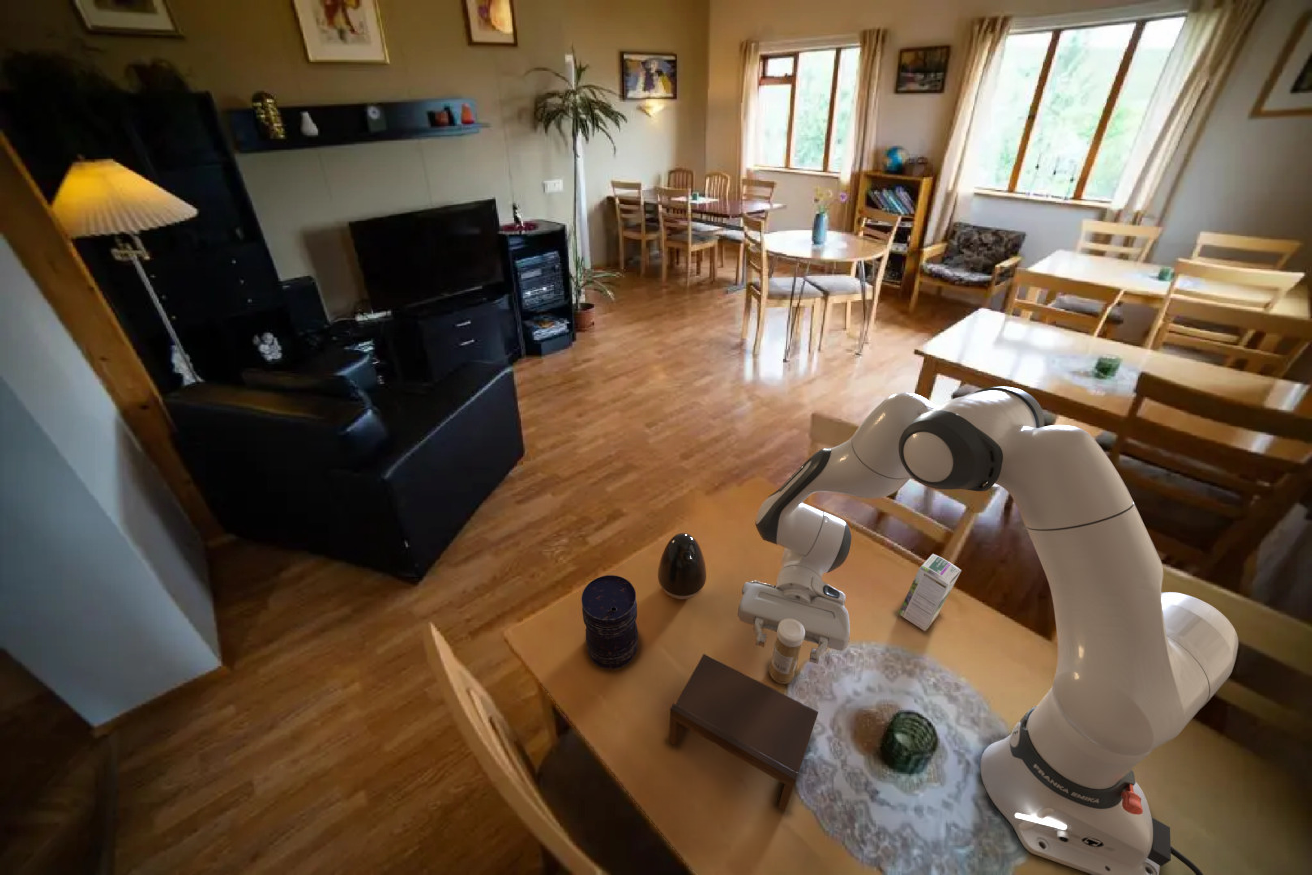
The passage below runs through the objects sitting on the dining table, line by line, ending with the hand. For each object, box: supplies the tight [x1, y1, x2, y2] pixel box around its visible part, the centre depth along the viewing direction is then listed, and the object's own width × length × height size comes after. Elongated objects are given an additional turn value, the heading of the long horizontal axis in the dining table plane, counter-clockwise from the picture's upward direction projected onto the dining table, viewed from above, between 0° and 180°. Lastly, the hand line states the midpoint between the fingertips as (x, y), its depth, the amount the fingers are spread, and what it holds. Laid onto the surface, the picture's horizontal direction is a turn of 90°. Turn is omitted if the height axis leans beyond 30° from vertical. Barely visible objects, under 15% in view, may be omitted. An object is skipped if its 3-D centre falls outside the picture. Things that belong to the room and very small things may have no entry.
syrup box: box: [898, 553, 962, 632], centre depth 104 cm, size 6×6×14 cm
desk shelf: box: [669, 653, 819, 812], centre depth 85 cm, size 20×12×11 cm, turn 60°
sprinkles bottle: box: [768, 619, 805, 685], centre depth 94 cm, size 5×5×14 cm
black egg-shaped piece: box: [657, 532, 707, 600], centre depth 110 cm, size 10×10×15 cm
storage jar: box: [581, 574, 639, 670], centre depth 98 cm, size 10×10×15 cm
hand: (786, 652), depth 94 cm, fingers open, 8 cm apart
